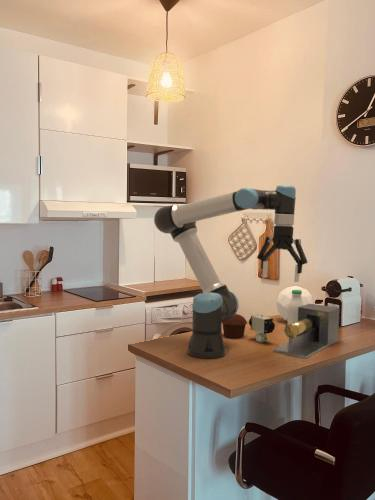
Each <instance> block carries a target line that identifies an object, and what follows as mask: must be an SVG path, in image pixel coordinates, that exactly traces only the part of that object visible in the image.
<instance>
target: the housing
mask: <svg viewBox="0 0 375 500" xmlns="http://www.w3.org/2000/svg"><path fill="white" fill-rule="evenodd" d="M304 319H309V320H310V321H311V322H312V328H311V329H310V330H308V331H305V332H303V333H301V334H299V335H298V336H297V337H295V338H289V337H288V342H285V343H283V344H280V346H277V347H275V348H273V349H272V350H273V351H272V352H274V353H278V354H282V355H287V356H292V357H297V358H300V359H307V358H310V357H311V356H313V355H315V354H317V353H319V352H320V351H323V350H324V349H326V348H328V347H329V346H331V345H333V344H335V343H337V342H338V341H339V328H340V327H339V326H340V324H339V323H340V307H336V306H335V307H334V306H329V305H322V304H316V303H314V304H307V305H304V306H301V307H298V321H301V320H304Z"/></svg>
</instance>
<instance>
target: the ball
mask: <svg viewBox="0 0 375 500" xmlns="http://www.w3.org/2000/svg"><path fill="white" fill-rule="evenodd" d="M292 290H301V291H302V295H301V299H302V302H303V304H304V305H307V304H315V303H314V300H313V296H312V294H311V293H310V292H309V290H308V289H306V288H303V287H300V286H298V285H293V286H288V287H285V288H284V289H283V290H281V291H280V292H279V293H278V297H277V299H276V301H275V305H276V308H277V312H278V314H279V315H280V316H281V318H282V319H283V320H284V321H287V322H288V306H289V303H290V301H291V299H292Z"/></svg>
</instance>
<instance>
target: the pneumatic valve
mask: <svg viewBox="0 0 375 500" xmlns="http://www.w3.org/2000/svg"><path fill="white" fill-rule="evenodd" d="M248 325H249V326H250V330H251V331H253V332H254V331H255V332H256V333H255V341H256V342H258V343H261V344H262V343H266V342H267V341H268V337H267V336H268V335H267V334H271V333H273V332H274V331H275V328H276V325H275V323H274V318H272V317H269V316H265V315H264V314H263V313H262V314H255V315H251V316H250V318H249V320H248Z"/></svg>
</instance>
